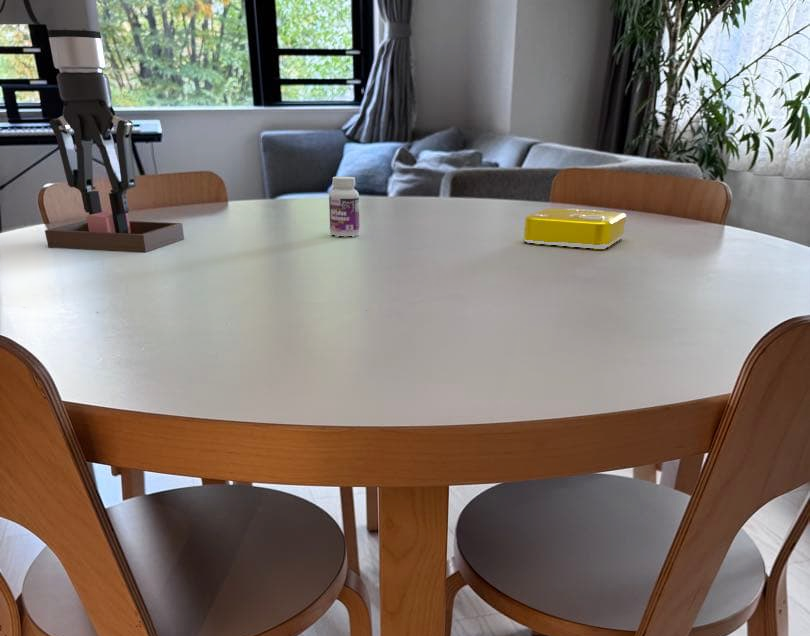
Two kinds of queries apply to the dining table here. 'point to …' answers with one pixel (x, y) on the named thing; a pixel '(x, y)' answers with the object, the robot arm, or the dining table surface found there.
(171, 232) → the tray
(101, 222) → the eraser
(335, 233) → the pill bottle
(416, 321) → the dining table surface
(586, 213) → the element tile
